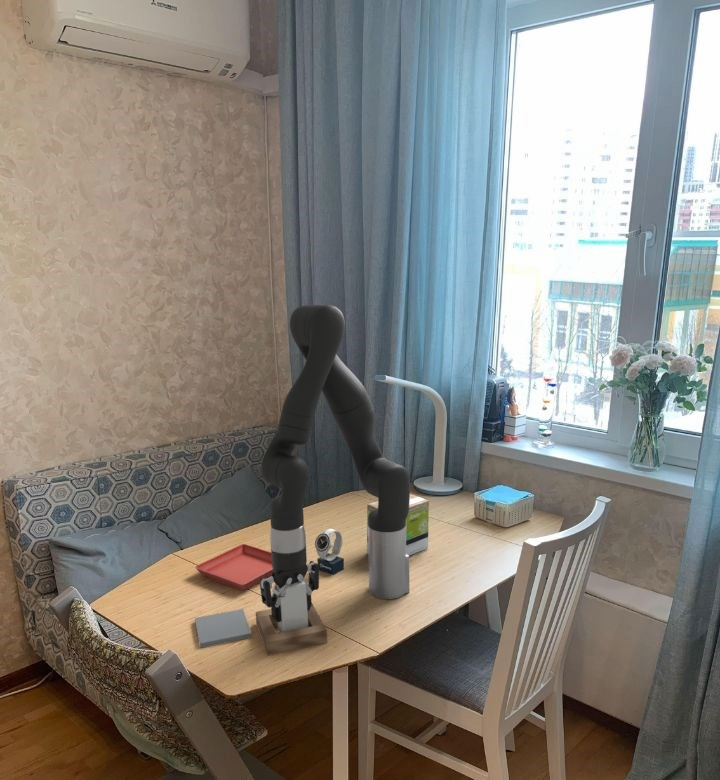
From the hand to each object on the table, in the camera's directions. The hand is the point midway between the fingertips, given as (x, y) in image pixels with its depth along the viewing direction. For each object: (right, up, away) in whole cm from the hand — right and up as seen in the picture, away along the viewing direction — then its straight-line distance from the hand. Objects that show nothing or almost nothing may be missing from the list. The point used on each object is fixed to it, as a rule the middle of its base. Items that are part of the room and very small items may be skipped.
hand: (292, 614), depth 147 cm
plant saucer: (-16, 0, +30) cm, 34 cm away
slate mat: (-16, -4, +3) cm, 17 cm away
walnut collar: (0, -4, +1) cm, 5 cm away
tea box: (+26, +4, +41) cm, 49 cm away
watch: (+7, +1, +31) cm, 32 cm away
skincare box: (0, -4, +1) cm, 5 cm away
